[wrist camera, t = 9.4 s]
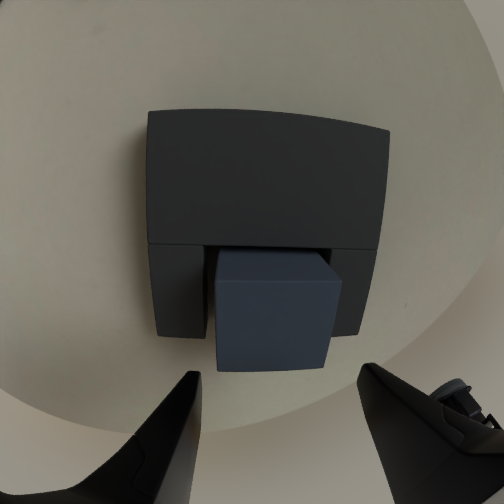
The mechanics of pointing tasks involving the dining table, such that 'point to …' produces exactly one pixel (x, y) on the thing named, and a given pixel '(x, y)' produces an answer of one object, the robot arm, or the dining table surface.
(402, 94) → the dining table surface
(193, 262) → the black arch block
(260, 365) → the navy rounded cube
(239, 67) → the dining table surface
